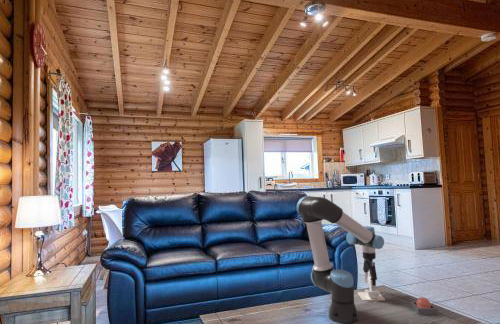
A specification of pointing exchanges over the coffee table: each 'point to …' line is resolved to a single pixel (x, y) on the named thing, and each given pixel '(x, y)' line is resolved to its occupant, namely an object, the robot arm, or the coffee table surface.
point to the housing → (424, 309)
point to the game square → (366, 298)
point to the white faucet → (370, 293)
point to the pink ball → (423, 303)
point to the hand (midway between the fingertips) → (370, 286)
